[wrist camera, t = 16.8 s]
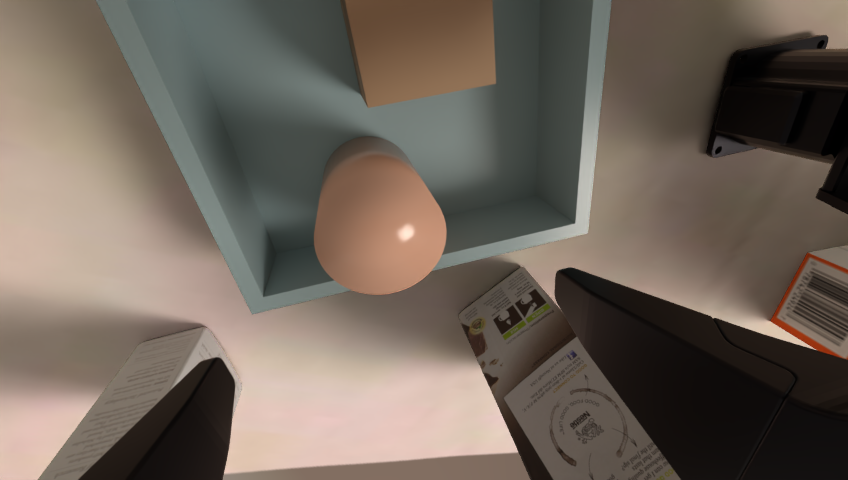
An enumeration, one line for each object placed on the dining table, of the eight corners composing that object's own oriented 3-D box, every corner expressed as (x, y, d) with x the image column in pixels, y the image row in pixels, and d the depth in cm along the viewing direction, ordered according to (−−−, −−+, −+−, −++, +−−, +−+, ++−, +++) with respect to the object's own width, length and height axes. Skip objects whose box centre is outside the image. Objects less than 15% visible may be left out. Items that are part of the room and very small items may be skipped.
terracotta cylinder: (410, 130, 19) (443, 168, 13) (418, 216, 21) (449, 282, 15) (313, 142, 18) (298, 187, 12) (332, 230, 20) (328, 304, 14)
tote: (550, -123, 16) (631, -191, 11) (541, 200, 23) (588, 233, 19) (127, -76, 14) (27, -137, 9) (269, 261, 21) (252, 314, 17)
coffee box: (453, 315, 26) (581, 611, 12) (522, 262, 25) (746, 517, 11) (512, 371, 31) (658, 635, 17) (573, 327, 30) (781, 568, 16)
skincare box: (246, 383, 25) (180, 619, 15) (181, 402, 25) (66, 659, 14) (205, 319, 22) (86, 559, 12) (130, 339, 22) (-64, 607, 11)
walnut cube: (458, 76, 18) (496, 83, 14) (360, 94, 17) (367, 107, 13) (446, -48, 15) (488, -87, 11) (332, -32, 15) (330, -67, 11)
